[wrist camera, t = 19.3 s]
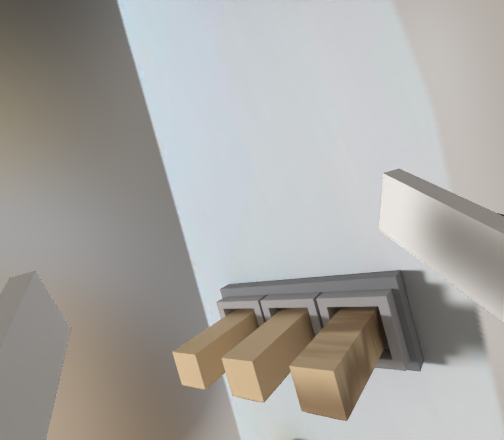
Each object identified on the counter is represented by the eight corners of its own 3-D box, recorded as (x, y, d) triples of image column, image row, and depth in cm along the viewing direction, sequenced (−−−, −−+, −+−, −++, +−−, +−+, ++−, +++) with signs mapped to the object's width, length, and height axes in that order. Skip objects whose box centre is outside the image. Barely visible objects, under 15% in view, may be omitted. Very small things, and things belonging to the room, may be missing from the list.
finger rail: (228, 284, 49) (152, 326, 38) (400, 270, 33) (354, 334, 22) (246, 346, 49) (176, 405, 38) (423, 360, 34) (390, 467, 23)
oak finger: (342, 306, 36) (289, 365, 26) (378, 305, 33) (333, 371, 24) (351, 341, 36) (302, 413, 27) (388, 343, 33) (347, 423, 24)
